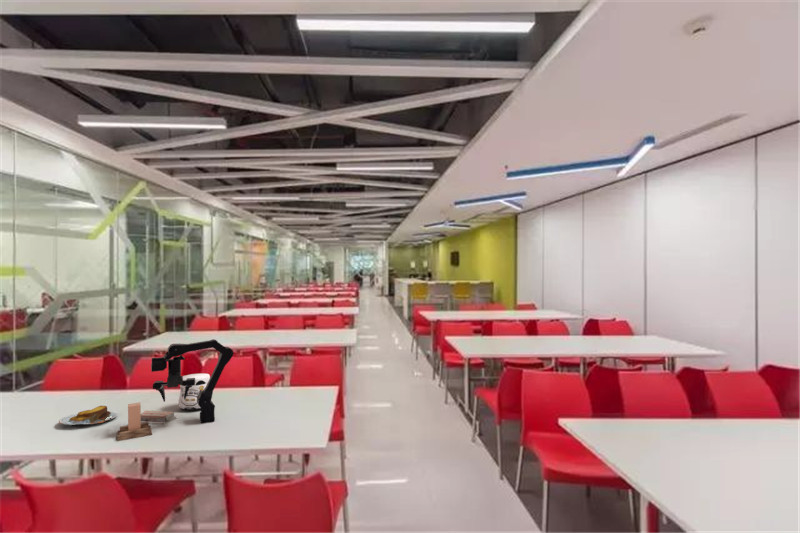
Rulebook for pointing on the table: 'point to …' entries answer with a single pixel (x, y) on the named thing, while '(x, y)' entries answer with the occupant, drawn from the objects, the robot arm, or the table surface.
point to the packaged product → (157, 417)
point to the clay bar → (134, 416)
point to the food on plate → (88, 416)
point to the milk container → (192, 391)
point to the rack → (134, 432)
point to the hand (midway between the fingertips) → (174, 400)
